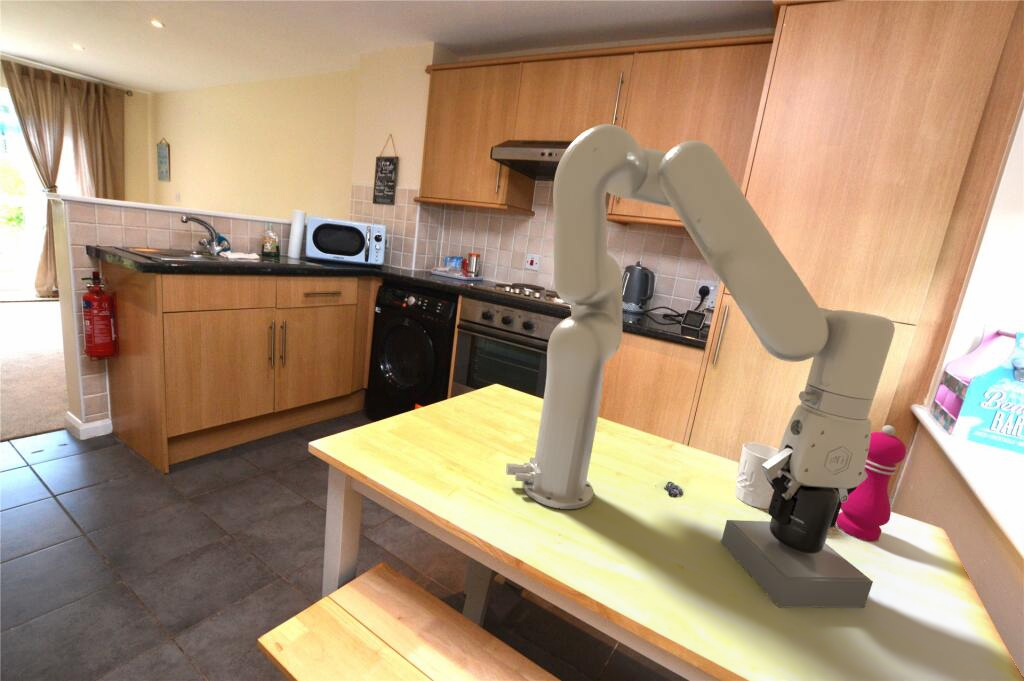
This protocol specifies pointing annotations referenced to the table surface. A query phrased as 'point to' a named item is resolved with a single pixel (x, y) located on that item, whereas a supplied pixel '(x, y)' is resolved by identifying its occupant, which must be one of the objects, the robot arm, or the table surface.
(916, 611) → the table surface
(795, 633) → the table surface
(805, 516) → the supplement bottle
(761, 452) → the white cup
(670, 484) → the blueberries
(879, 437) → the pepper mill
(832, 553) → the slate riser
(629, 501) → the table surface
